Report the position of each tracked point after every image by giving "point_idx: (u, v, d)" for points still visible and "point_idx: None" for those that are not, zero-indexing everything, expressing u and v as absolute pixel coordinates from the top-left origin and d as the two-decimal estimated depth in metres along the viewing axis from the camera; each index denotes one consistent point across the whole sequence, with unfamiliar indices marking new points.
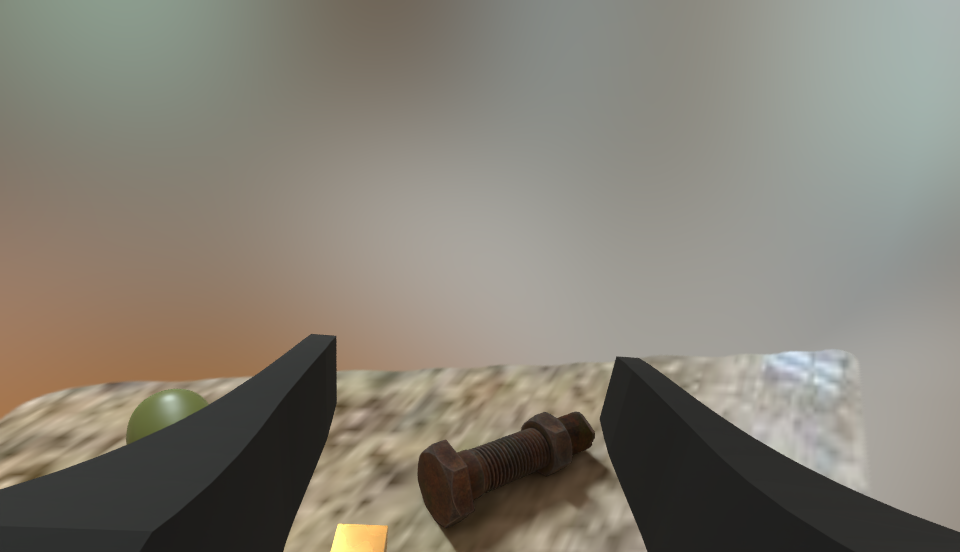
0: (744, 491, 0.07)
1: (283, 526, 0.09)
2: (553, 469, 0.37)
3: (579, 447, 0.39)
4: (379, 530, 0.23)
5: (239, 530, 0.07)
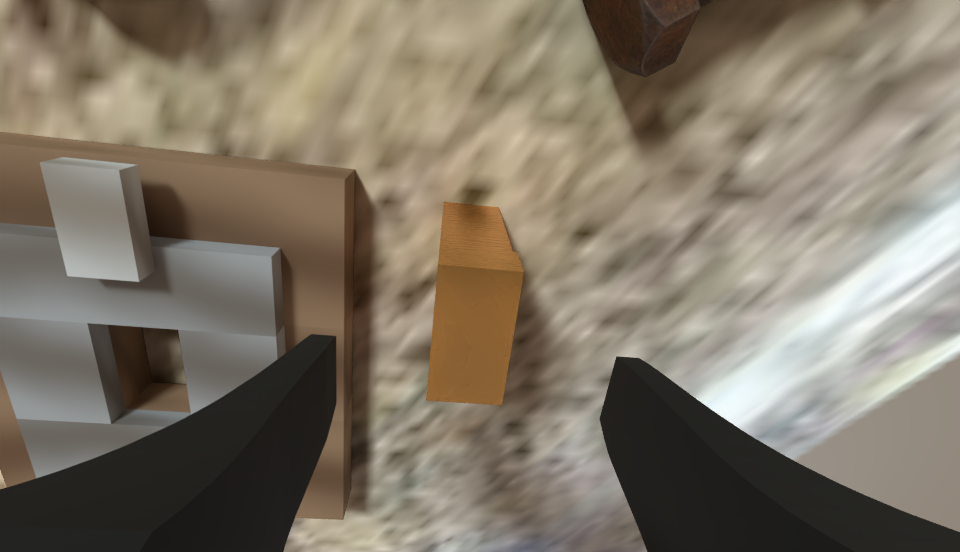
0: (744, 491, 0.07)
1: (283, 526, 0.09)
2: None
3: None
4: (510, 279, 0.13)
5: (239, 530, 0.07)
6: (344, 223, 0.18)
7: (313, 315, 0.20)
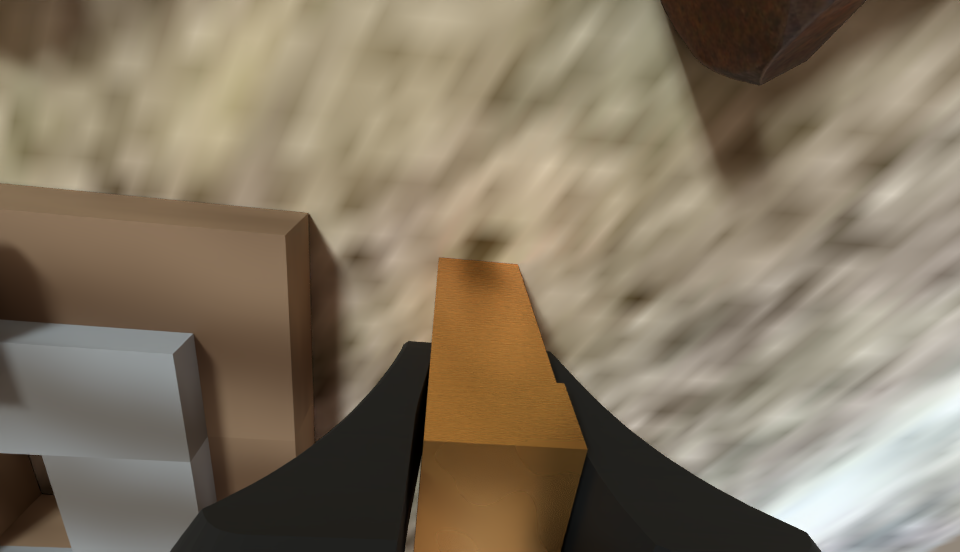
0: (596, 483, 0.07)
1: (406, 531, 0.09)
2: None
3: None
4: (561, 462, 0.07)
5: (402, 536, 0.07)
6: (288, 299, 0.12)
7: (249, 423, 0.14)
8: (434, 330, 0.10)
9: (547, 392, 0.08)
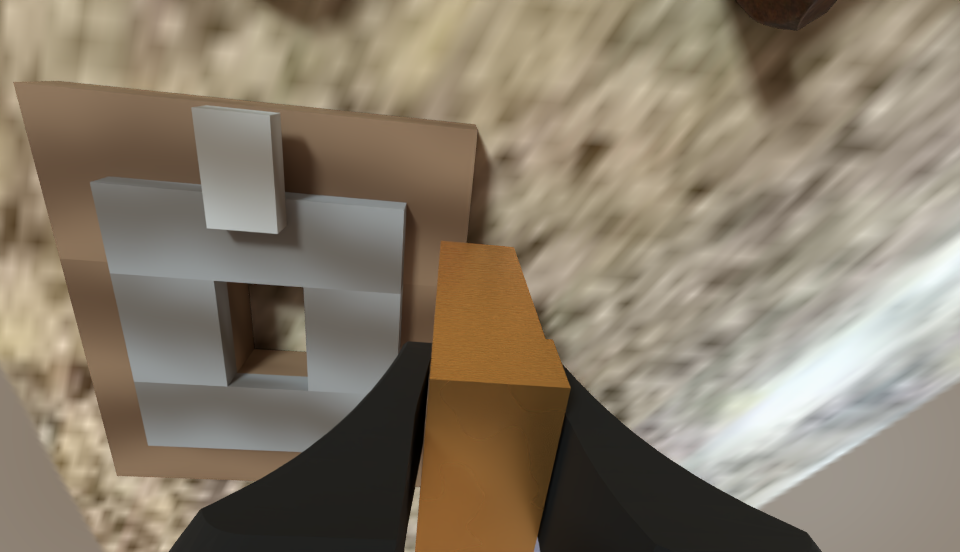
0: (596, 483, 0.07)
1: (405, 530, 0.09)
2: None
3: None
4: (548, 399, 0.08)
5: (402, 536, 0.07)
6: None
7: (433, 273, 0.20)
8: (437, 299, 0.11)
9: (537, 346, 0.09)
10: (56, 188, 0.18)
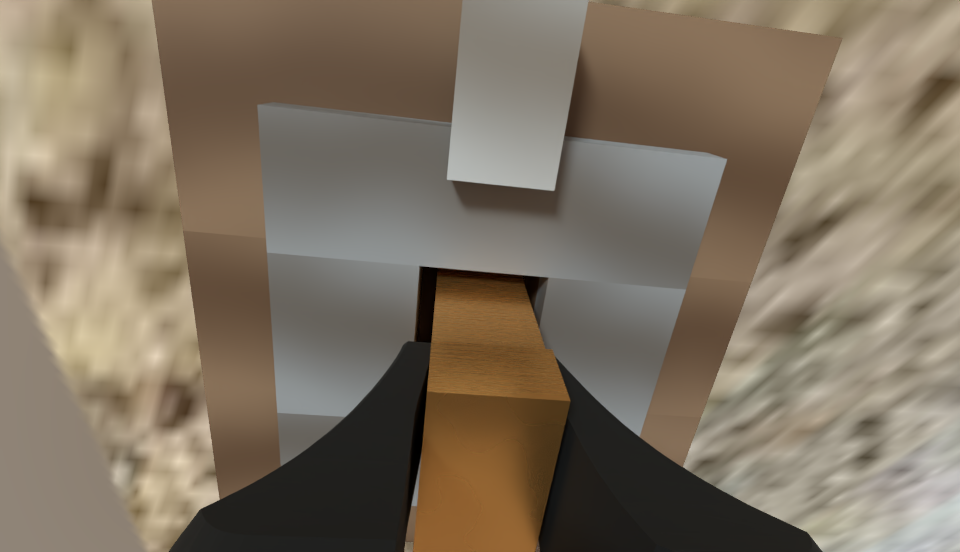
0: (596, 484, 0.07)
1: (405, 531, 0.09)
2: None
3: None
4: (547, 413, 0.08)
5: (402, 536, 0.07)
6: (813, 113, 0.12)
7: (716, 260, 0.14)
8: (436, 306, 0.11)
9: (537, 356, 0.09)
10: (191, 120, 0.11)
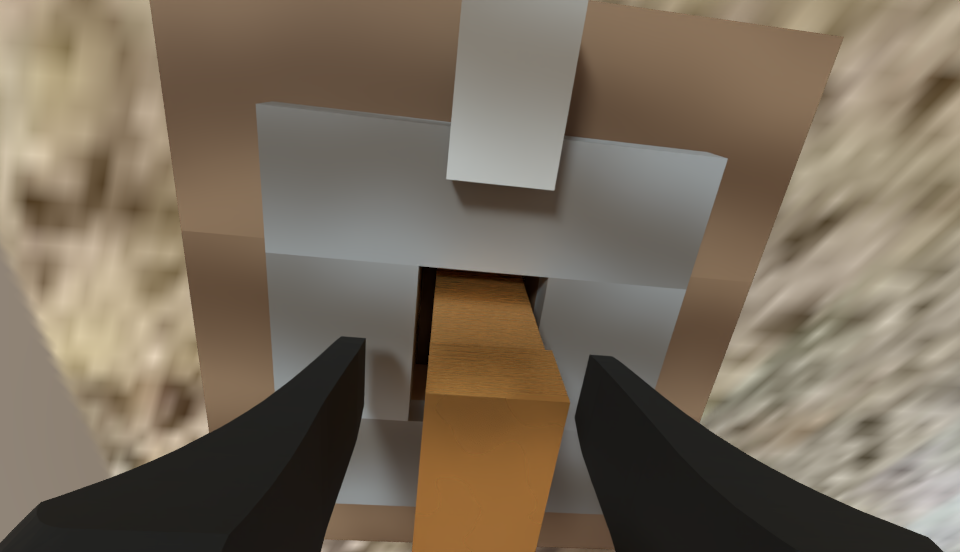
0: (700, 489, 0.07)
1: (321, 527, 0.09)
2: None
3: None
4: (546, 414, 0.08)
5: (290, 532, 0.07)
6: (814, 113, 0.12)
7: (717, 260, 0.14)
8: (434, 307, 0.11)
9: (536, 357, 0.09)
10: (189, 119, 0.11)
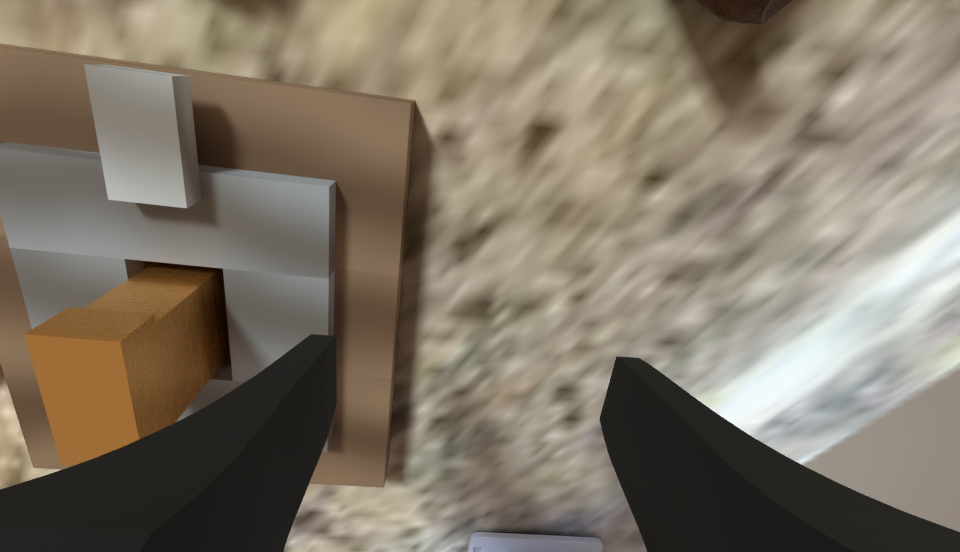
0: (744, 490, 0.07)
1: (283, 526, 0.09)
2: None
3: None
4: (108, 349, 0.13)
5: (239, 530, 0.07)
6: (407, 154, 0.17)
7: (366, 258, 0.18)
8: (117, 287, 0.16)
9: (136, 317, 0.14)
10: None
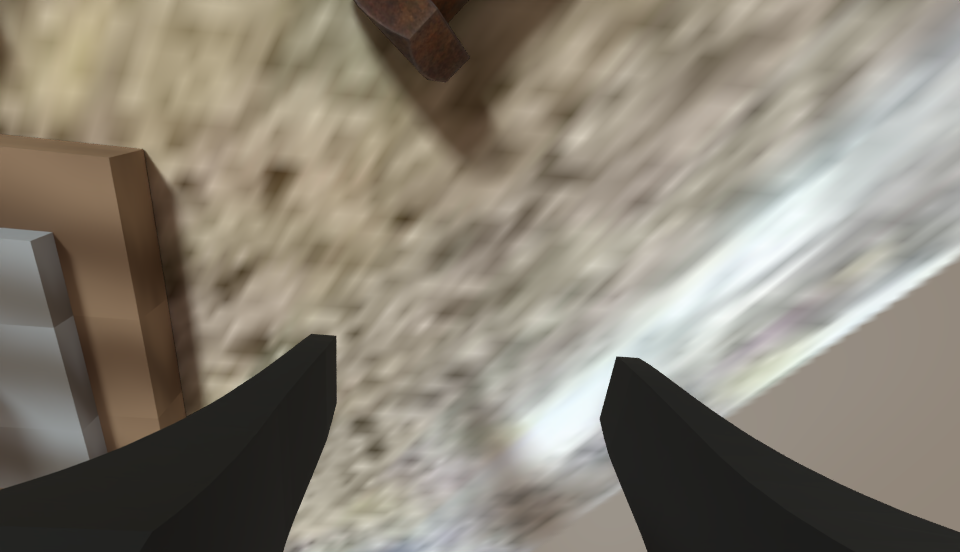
0: (744, 490, 0.07)
1: (283, 526, 0.09)
2: None
3: None
4: None
5: (239, 530, 0.07)
6: (118, 206, 0.17)
7: (103, 305, 0.19)
8: None
9: None
10: None
